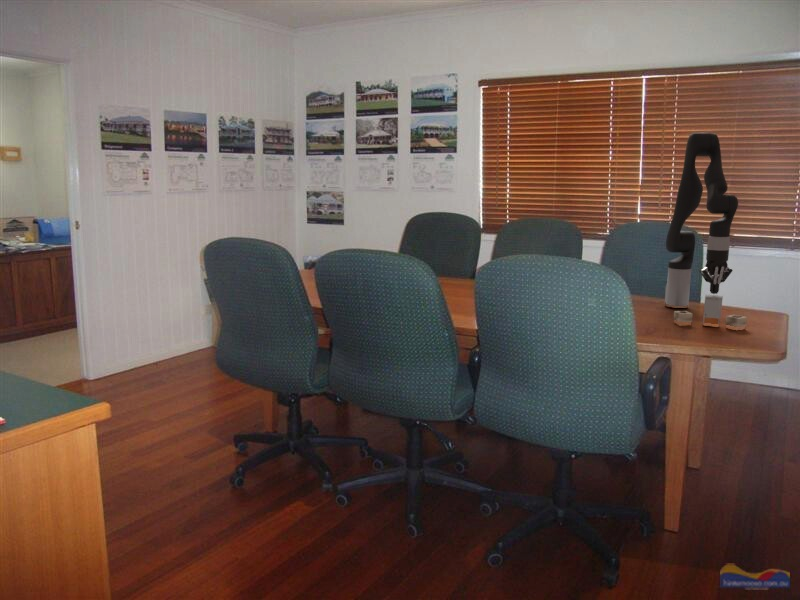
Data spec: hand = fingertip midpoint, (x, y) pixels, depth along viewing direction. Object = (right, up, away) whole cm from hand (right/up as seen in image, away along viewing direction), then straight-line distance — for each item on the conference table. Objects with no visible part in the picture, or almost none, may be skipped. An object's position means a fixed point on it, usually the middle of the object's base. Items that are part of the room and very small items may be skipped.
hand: (713, 293), depth 255 cm
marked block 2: (+7, -14, -2) cm, 16 cm away
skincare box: (0, -13, +3) cm, 13 cm away
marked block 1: (-10, -12, +6) cm, 17 cm away
